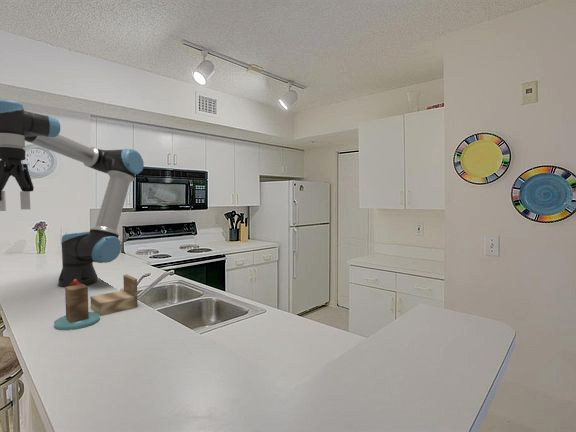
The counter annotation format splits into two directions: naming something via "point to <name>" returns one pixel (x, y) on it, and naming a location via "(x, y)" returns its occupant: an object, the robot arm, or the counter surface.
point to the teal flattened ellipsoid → (66, 325)
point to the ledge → (117, 298)
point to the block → (76, 303)
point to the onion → (74, 283)
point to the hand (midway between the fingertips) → (13, 210)
